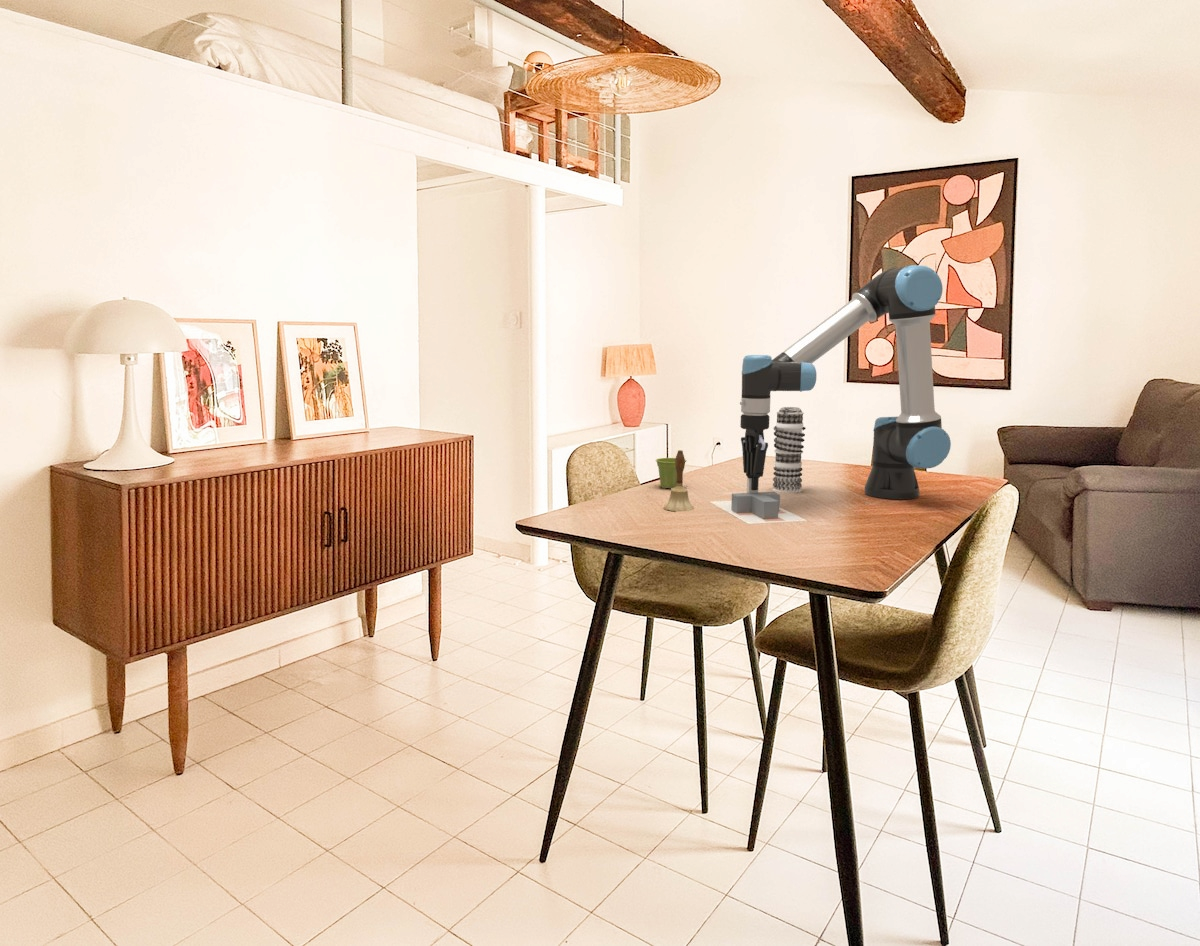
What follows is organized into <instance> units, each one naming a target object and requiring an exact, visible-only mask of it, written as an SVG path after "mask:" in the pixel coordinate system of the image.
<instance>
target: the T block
mask: <svg viewBox="0 0 1200 946" xmlns="http://www.w3.org/2000/svg"><path fill="white" fill-rule="evenodd" d="M731 501H732V506H731V510H732V511H734V512H736V513H753V514H755V515H757V516H758V517H760V518H762V519H776V518H778V511H779V510H780V508H781V507H780V506H781V494H780V493H777V492H776V491H763V492H762V491H761V492H759V491H758V492H757V493H747V492H740V493H739V492H737V493H731Z"/></svg>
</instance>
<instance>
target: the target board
mask: <svg viewBox="0 0 1200 946" xmlns="http://www.w3.org/2000/svg"><path fill="white" fill-rule="evenodd" d="M710 503H711V504H713V505H714V506H716V507H718V508H720V510H723V511H725V512H726V513H729V514H730V515H732V516H734V517H736V518H737V519H739V520H741V521H743V522H744V523H746V524H748V525H754V524H755V525H756V524H772V523H773V524H774V523H775V524H776V523H792V522H807V521H808V520H807V519H805V518H803V517H801V516H799V515H797V514H795V513H793V512H790V511H788V510H786V509H784V508H783V507H780V510H779V511H778V518H776V519H762V518H760V517H758V516H757V515H755V514H753V513H736V512H734V511H732V510H731V506H732V500H715V501H714V500H713V501H710Z"/></svg>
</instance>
